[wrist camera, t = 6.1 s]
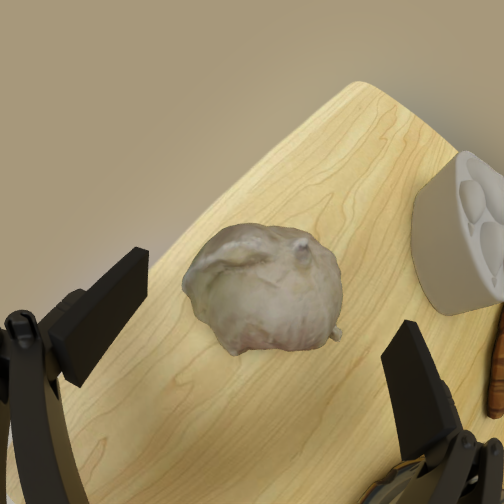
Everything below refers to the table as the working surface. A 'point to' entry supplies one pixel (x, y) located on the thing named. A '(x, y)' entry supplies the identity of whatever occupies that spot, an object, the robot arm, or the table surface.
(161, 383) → the table surface
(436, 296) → the lumpy-topped squat cylinder
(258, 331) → the tan rounded lump
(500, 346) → the croissant
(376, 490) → the apothecary jar
